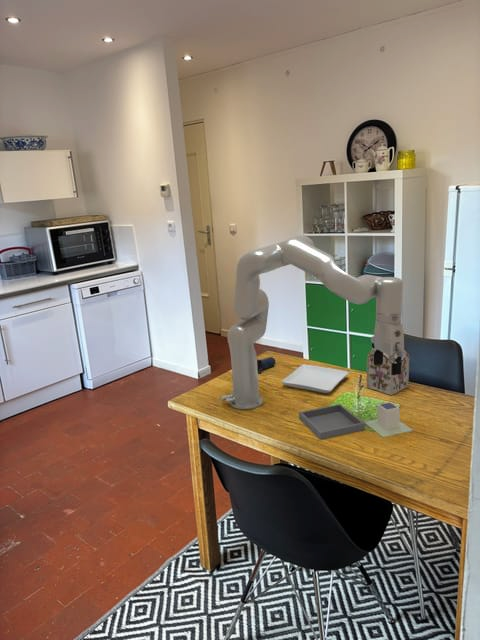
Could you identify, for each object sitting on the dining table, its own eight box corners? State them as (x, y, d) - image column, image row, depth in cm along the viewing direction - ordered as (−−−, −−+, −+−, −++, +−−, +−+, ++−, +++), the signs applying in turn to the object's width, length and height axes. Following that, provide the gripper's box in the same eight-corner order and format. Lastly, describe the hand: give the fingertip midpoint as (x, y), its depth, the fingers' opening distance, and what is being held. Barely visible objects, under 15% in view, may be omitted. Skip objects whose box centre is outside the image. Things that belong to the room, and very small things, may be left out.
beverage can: (260, 377, 212) (277, 370, 221) (262, 361, 210) (280, 355, 218) (245, 369, 218) (263, 363, 226) (247, 353, 215) (265, 348, 224)
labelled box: (385, 430, 157) (386, 410, 156) (376, 424, 162) (377, 404, 160) (399, 427, 159) (399, 407, 157) (389, 421, 163) (390, 401, 162)
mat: (383, 439, 154) (383, 436, 154) (364, 424, 164) (364, 421, 164) (412, 432, 157) (413, 429, 157) (392, 417, 167) (392, 415, 167)
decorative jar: (365, 388, 192) (366, 344, 188) (382, 379, 200) (383, 337, 195) (392, 396, 184) (393, 351, 179) (409, 387, 191) (411, 343, 186)
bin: (320, 441, 155) (320, 432, 154) (299, 420, 169) (298, 412, 169) (364, 431, 159) (365, 423, 158) (340, 411, 174) (340, 403, 173)
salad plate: (330, 398, 186) (330, 389, 185) (280, 388, 197) (280, 380, 196) (349, 378, 203) (350, 371, 202) (303, 371, 214) (302, 363, 213)
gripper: (416, 322, 145) (414, 376, 149) (382, 309, 160) (381, 359, 165) (395, 326, 142) (392, 380, 147) (362, 312, 158) (361, 362, 163)
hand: (386, 369), depth 156 cm, fingers open, 9 cm apart
